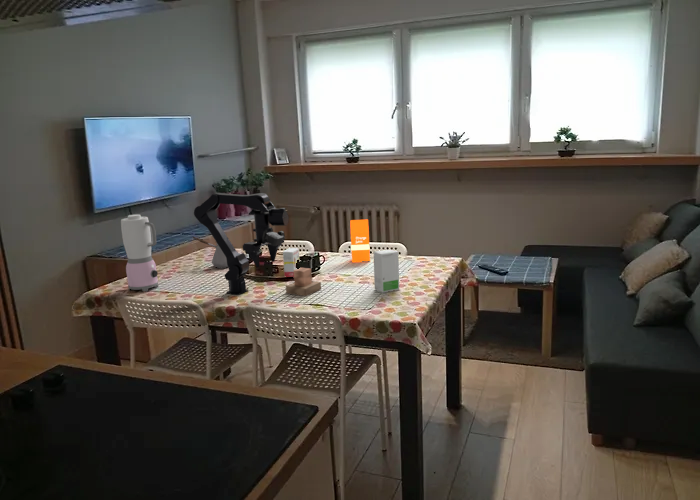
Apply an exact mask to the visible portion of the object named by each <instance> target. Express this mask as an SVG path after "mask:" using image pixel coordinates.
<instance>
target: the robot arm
mask: <svg viewBox="0 0 700 500" xmlns="http://www.w3.org/2000/svg"><path fill="white" fill-rule="evenodd" d="M221 204H222V205H223V204H224V205H225V204H226V205H237V206H245V207H248V208H250V209H251V210H250V211H249V212H248V215H249V216H253V219H254V228H253V229H252V231H253V232H255V238H254V239H253V241H248V242H245V243H243V244H242V251H244V252H245V253H247V254H248V256H249V257H250V258H251V260H252V262H253V264H254V265H255V266H256V268H259V267H260V254H261V252H262V250H261V247H264V246H267V248H268V253H269V257H270V260H271V262H272V263H274V262H275V261H276V258H277V257H276V256H277V252H278V250H279V248H280V247H281V246H282V245H283V244H285V239H286V237H285V232H284V231H283V230H281V231H278V232H275V231H274V229H273V226H274V227H276V226H279V227H281V226H288V224H289V222H290V221H289V218H290V217H289V215H288V212H287V211H286V209H287V208H286V207H281V208H276V206H275V205H274V204H273V202H272V201H271V200H270V197H269V196H268V194H267V193H264V192H261V193H253V194H235V193H223V192H215V193H212V194H211V195H210V197H209V198H207V199H206V200H205V201H204V202H203V203H201V205H197V206H195V208H194V210H193V215H194V217H195V219H196V220H197V221H198V223H200V224H201V225H203V226H204V227H205V228H207V230H208V231H209V233H210V235H211V236H212V237H213V239H214V242H215V241H216V242H217V244H218V245H219V247H220V249H221V250H222V252H223V253H224V255H225V256H226V259H227V266H228V270H227V272H226V273H225V274H224V279H225V280H226V281H228V291H226V294H230V293H231V295H241V294H243V293H246V292H248V291H249V289H248V288H247V285H246V284H247V283H246V280H245V276H246V275H247V272H248V271H249V270H250V263H249V261H250V259H248V258H247V256H246V254H245V253H244V252H242V253H240V252H238V251H237V250H236V248H235V247H234V245H233V244H232V242H231V241H230V238H229V237H228V236H227V234H226V232H225V231H224V229H223V228H222V227H221V225H220V223H219V222H218V216H217V215H218V214H217V211H216V210H218V208H219V207H220V205H221ZM270 225H271V226H270Z"/></svg>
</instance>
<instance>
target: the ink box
mask: <svg viewBox="0 0 700 500" xmlns="http://www.w3.org/2000/svg"><path fill="white" fill-rule="evenodd" d="M298 259H299V260H300V249H299V248H297V247H288V248H287V249H285V250H283V251H282V260H283V273H284V277H285V276H286V277H293V278H292V279H294V270H296V269H297V268H296V263H297V260H298Z"/></svg>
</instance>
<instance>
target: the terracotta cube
mask: <svg viewBox="0 0 700 500" xmlns="http://www.w3.org/2000/svg"><path fill="white" fill-rule="evenodd" d="M293 281H294V282H293V283H294V284H295V285H298V286H306V285H309V284H311V283H312V281H313V278H312V268H308V267H300V268H299V269H296V270H294V278H293Z"/></svg>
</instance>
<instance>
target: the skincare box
mask: <svg viewBox="0 0 700 500" xmlns="http://www.w3.org/2000/svg"><path fill="white" fill-rule="evenodd" d="M372 253H373V275H374V276H373V277H374V290H375V291H377V292H379V291H380V292H379V293H382V294H384V293H389V292H388V291H390V292H394V291H393V290H395V291H399V290H400V271H399V270H400V267H399V263H400V262H399V261H400V260H399V251H397V250H393V249H385V250H375V251H373V252H372ZM398 289H399V290H398Z"/></svg>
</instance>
